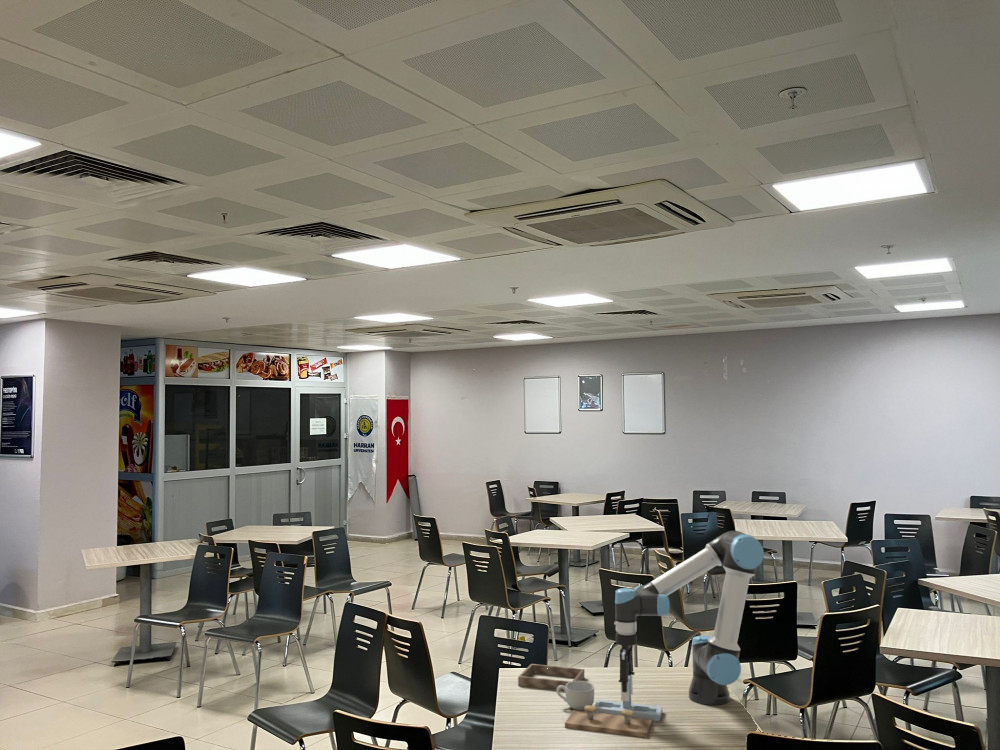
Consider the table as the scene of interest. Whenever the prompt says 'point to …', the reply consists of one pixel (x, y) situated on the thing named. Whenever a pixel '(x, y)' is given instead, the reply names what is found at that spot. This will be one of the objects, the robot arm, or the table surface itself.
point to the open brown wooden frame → (529, 681)
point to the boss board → (609, 722)
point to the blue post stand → (629, 708)
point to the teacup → (578, 694)
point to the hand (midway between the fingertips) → (626, 696)
